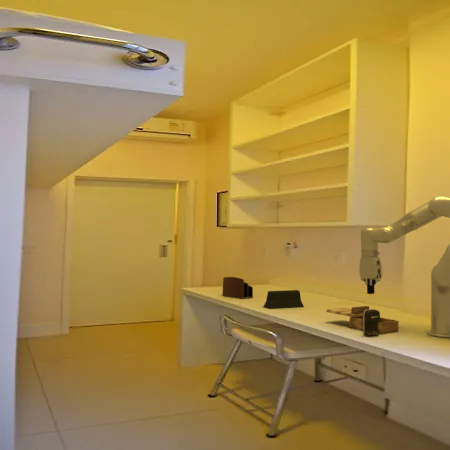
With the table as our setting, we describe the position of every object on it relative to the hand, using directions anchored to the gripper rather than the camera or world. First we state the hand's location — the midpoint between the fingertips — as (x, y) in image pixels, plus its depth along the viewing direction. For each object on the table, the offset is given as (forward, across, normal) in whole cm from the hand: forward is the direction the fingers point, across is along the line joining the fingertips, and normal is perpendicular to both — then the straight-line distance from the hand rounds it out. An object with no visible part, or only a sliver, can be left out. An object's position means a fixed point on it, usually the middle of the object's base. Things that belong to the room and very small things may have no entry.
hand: (370, 293), depth 229 cm
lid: (+11, +13, +1) cm, 17 cm away
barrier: (+15, +72, -7) cm, 74 cm away
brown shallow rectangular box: (+16, -2, +1) cm, 17 cm away
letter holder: (+13, +122, -8) cm, 123 cm away
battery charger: (+17, -11, +13) cm, 24 cm away
